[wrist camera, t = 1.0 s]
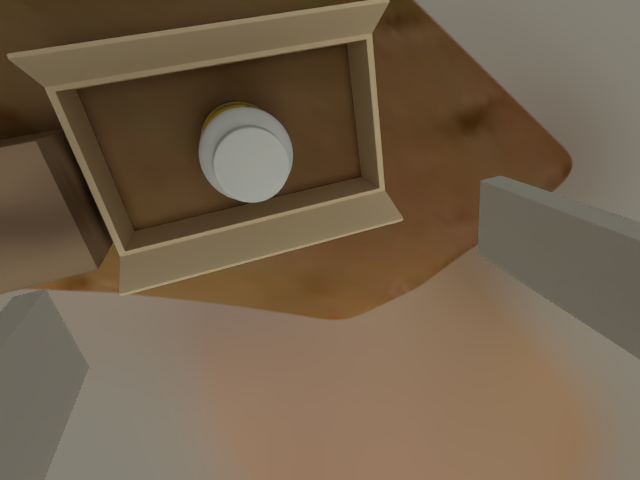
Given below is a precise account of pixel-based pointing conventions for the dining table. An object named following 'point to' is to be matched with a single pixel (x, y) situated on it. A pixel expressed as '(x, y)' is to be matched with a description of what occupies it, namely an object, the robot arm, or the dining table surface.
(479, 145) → the dining table surface
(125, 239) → the carton
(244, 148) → the pill bottle
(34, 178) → the block
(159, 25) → the dining table surface
